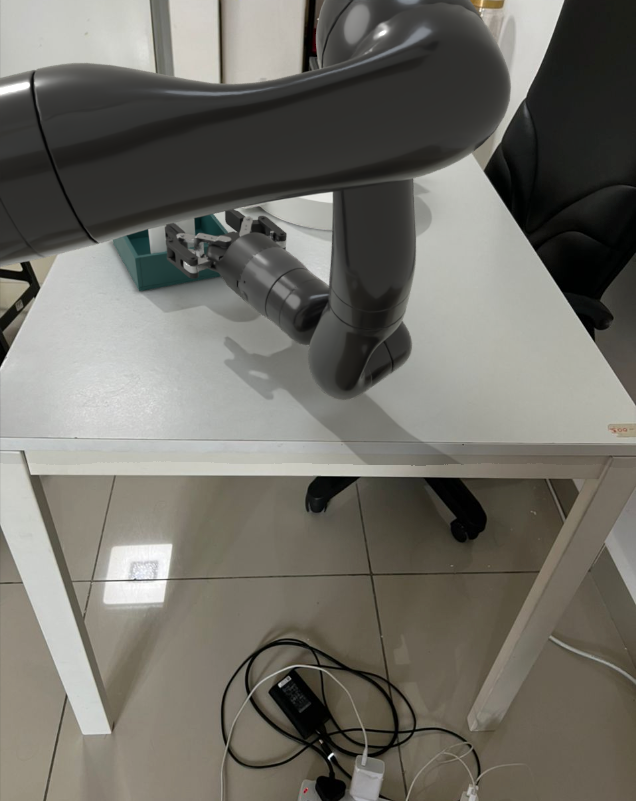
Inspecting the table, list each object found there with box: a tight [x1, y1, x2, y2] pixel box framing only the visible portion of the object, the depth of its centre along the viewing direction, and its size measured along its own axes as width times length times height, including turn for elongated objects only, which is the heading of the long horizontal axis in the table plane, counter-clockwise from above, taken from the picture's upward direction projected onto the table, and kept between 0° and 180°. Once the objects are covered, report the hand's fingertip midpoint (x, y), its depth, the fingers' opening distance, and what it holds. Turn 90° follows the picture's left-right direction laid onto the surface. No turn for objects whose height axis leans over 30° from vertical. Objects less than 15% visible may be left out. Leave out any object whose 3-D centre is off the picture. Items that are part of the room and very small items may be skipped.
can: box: [148, 218, 195, 254], centre depth 90 cm, size 6×6×12 cm
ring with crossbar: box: [242, 192, 333, 231], centre depth 115 cm, size 28×28×5 cm
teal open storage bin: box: [112, 214, 229, 292], centre depth 93 cm, size 14×14×5 cm
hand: (198, 221), depth 83 cm, fingers open, 8 cm apart
